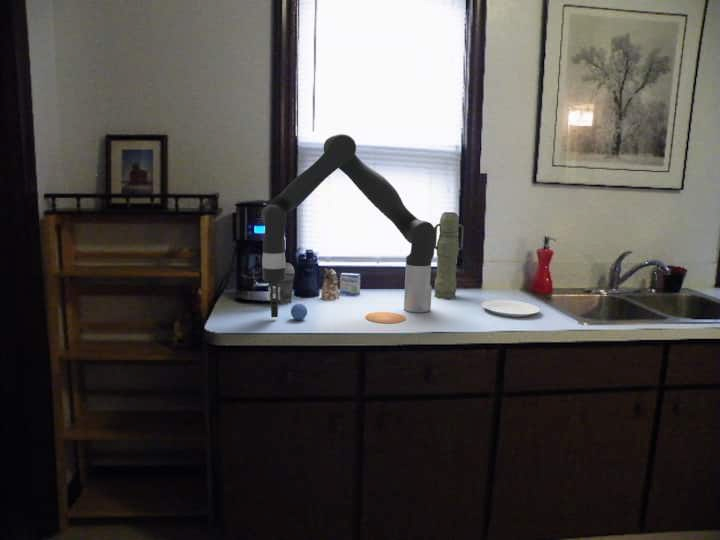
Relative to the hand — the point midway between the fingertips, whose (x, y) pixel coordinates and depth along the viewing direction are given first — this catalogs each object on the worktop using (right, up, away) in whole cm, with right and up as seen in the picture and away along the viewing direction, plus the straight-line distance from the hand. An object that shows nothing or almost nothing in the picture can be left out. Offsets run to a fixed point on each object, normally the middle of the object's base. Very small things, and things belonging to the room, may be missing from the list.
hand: (274, 316), depth 170 cm
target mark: (+38, -1, +7) cm, 38 cm away
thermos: (+64, +4, +41) cm, 76 cm away
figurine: (+17, +4, +33) cm, 37 cm away
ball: (+8, +2, +1) cm, 8 cm away
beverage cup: (0, +3, +24) cm, 24 cm away
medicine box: (+24, +5, +41) cm, 48 cm away
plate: (+85, 0, +20) cm, 87 cm away
